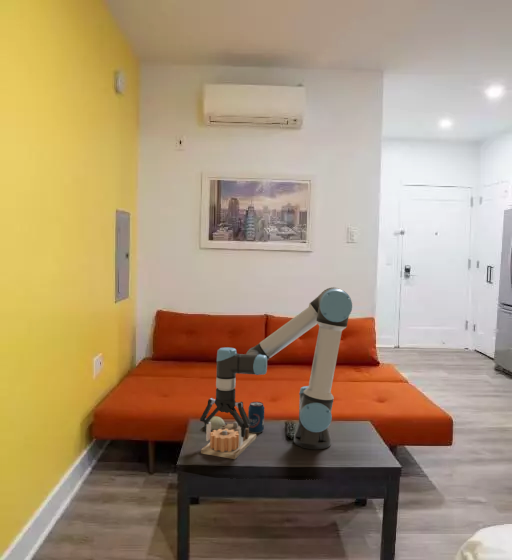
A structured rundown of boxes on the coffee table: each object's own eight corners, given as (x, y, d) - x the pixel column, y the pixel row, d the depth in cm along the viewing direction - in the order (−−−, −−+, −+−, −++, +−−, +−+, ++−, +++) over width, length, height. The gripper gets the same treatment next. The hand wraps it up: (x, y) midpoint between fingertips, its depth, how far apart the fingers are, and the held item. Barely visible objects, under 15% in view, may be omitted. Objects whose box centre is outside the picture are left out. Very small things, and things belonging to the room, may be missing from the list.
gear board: (256, 437, 207) (256, 420, 206) (235, 459, 184) (235, 439, 184) (225, 433, 211) (225, 415, 211) (200, 453, 188) (201, 434, 188)
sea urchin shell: (226, 420, 222) (225, 411, 216) (224, 437, 217) (222, 428, 211) (206, 419, 223) (204, 410, 217) (204, 435, 218) (201, 427, 212)
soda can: (245, 432, 213) (246, 404, 213) (251, 427, 220) (252, 400, 219) (260, 434, 211) (261, 406, 210) (265, 429, 217) (266, 402, 217)
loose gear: (232, 453, 185) (232, 440, 185) (205, 449, 188) (205, 436, 188) (242, 443, 195) (242, 431, 195) (217, 439, 199) (217, 427, 199)
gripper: (259, 389, 190) (257, 443, 191) (200, 382, 199) (199, 434, 200) (252, 394, 183) (251, 450, 184) (192, 386, 192) (191, 440, 192)
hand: (224, 442), depth 192 cm, fingers open, 13 cm apart
